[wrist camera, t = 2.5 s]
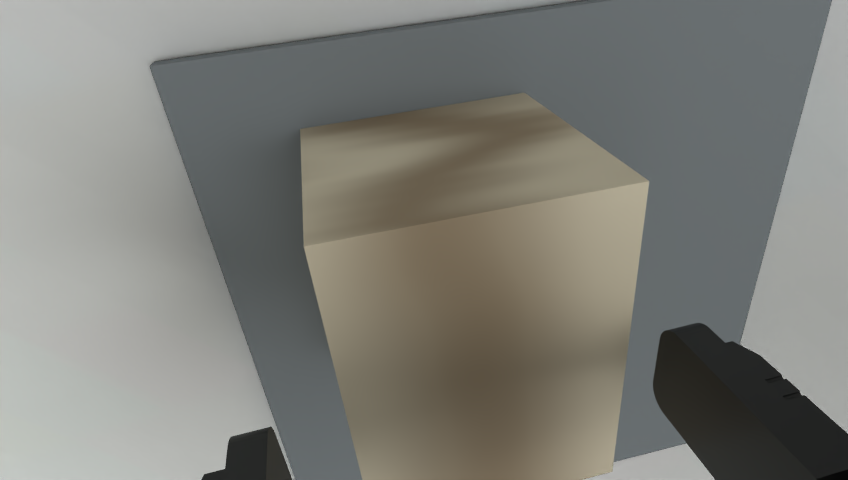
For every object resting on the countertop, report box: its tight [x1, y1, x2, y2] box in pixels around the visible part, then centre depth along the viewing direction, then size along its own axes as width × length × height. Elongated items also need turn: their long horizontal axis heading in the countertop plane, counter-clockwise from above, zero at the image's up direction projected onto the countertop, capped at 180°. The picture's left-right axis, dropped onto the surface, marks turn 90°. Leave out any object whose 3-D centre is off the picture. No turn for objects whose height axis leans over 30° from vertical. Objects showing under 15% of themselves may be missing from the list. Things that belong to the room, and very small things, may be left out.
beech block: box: [300, 93, 649, 480], centre depth 14 cm, size 6×8×6 cm
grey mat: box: [150, 0, 832, 480], centre depth 19 cm, size 18×19×1 cm
